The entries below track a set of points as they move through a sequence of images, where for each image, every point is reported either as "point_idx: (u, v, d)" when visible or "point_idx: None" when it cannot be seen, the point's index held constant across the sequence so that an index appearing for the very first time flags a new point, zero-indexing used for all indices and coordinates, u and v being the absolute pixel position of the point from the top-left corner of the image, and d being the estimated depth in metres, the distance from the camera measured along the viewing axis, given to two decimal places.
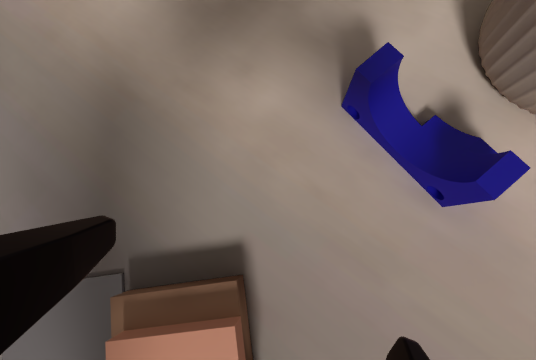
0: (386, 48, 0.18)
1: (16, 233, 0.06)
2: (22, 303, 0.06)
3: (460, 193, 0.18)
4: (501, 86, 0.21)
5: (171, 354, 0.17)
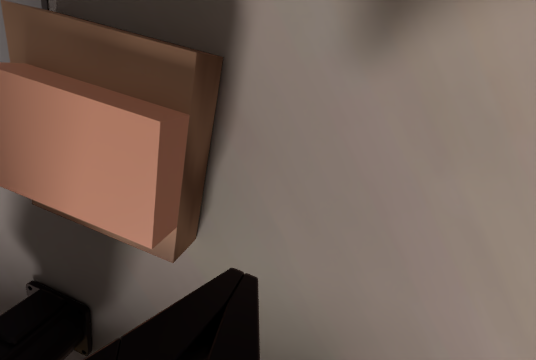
0: None
1: (176, 304, 0.06)
2: None
3: None
4: None
5: (64, 120, 0.11)
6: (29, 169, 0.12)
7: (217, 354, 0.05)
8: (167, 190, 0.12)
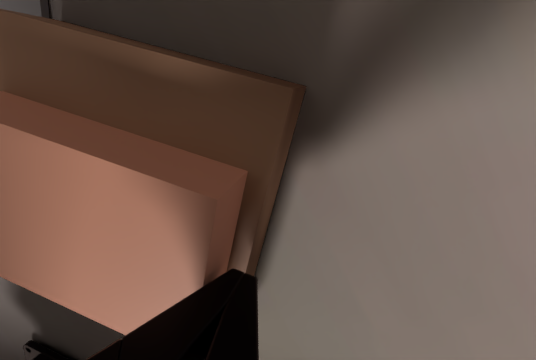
0: None
1: (178, 304, 0.06)
2: None
3: None
4: None
5: (58, 186, 0.07)
6: (9, 245, 0.09)
7: (216, 354, 0.05)
8: None
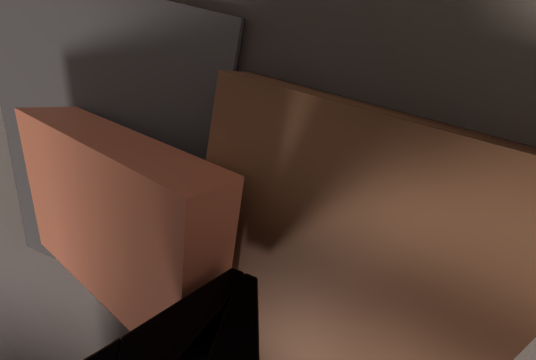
0: None
1: (177, 304, 0.06)
2: None
3: None
4: None
5: (83, 181, 0.08)
6: (59, 232, 0.10)
7: (217, 354, 0.05)
8: None
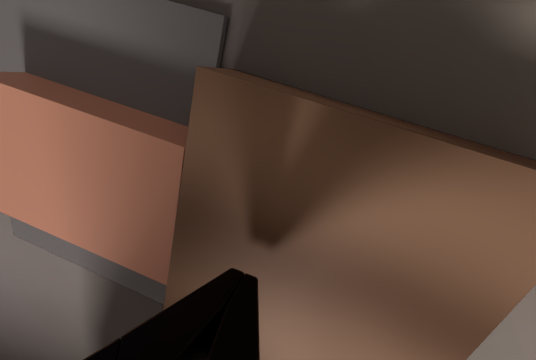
0: None
1: (176, 304, 0.06)
2: None
3: None
4: None
5: (70, 141, 0.09)
6: (28, 192, 0.11)
7: (217, 354, 0.05)
8: None
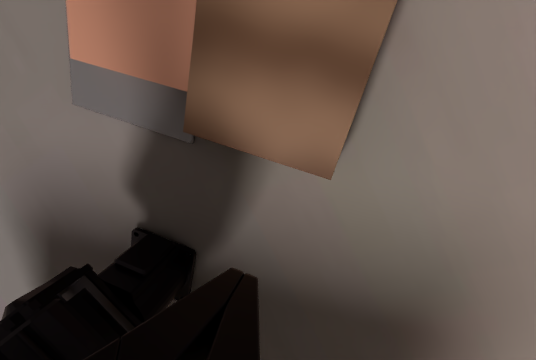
0: None
1: (176, 304, 0.06)
2: None
3: None
4: None
5: None
6: (96, 37, 0.17)
7: (217, 354, 0.05)
8: None
